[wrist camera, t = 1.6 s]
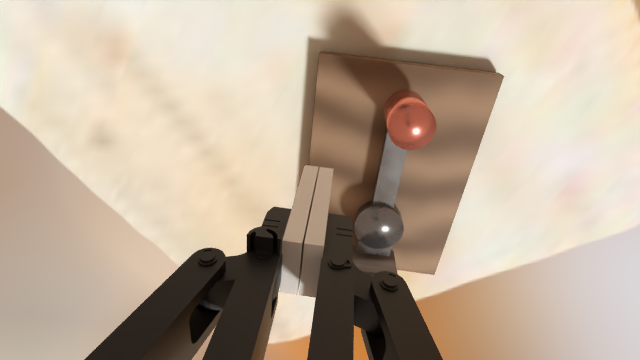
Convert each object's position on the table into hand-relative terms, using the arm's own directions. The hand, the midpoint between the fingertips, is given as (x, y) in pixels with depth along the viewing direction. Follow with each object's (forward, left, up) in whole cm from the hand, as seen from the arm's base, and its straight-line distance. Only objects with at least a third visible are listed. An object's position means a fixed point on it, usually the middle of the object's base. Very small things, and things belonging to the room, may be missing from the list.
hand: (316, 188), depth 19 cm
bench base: (+9, +7, -20) cm, 23 cm away
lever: (+8, +7, -18) cm, 21 cm away
